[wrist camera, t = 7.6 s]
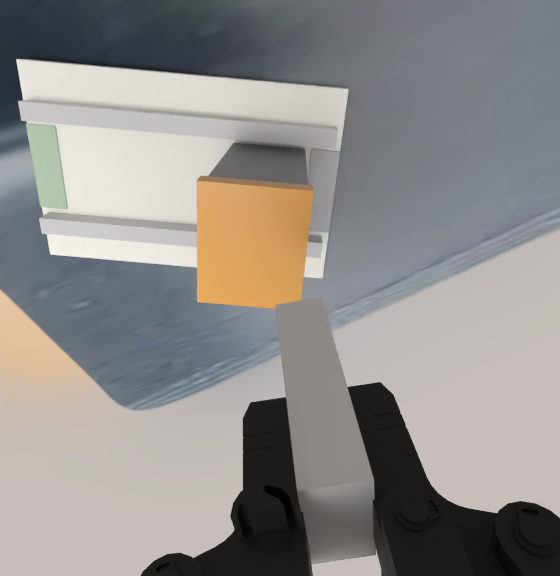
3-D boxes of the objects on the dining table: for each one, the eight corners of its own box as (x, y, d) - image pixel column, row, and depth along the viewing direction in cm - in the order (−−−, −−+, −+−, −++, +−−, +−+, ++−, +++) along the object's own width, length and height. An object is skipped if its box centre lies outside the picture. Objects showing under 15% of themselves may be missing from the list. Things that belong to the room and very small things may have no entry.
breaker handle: (308, 146, 31) (314, 191, 20) (299, 232, 34) (299, 310, 23) (231, 139, 31) (196, 180, 20) (228, 226, 34) (197, 301, 23)
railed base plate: (346, 88, 30) (351, 90, 28) (321, 270, 37) (323, 287, 34) (28, 59, 30) (2, 59, 28) (59, 247, 37) (40, 261, 34)
